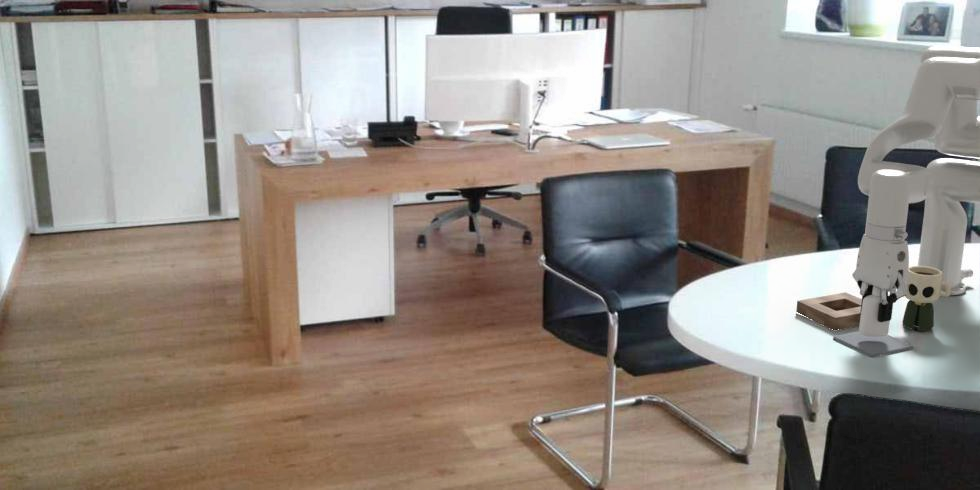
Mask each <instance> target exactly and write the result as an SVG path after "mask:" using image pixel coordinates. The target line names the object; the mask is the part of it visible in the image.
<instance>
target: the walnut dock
mask: <svg viewBox="0 0 980 490" xmlns="http://www.w3.org/2000/svg"><path fill="white" fill-rule="evenodd" d="M796 302H797V303H796V312H798V313H800V314H802V315H804V316H806V317H808V318H809V319H812V320H813V321H812V322H814V321H815V322H814V323H816V322H817V323H816V324H818V323H819V324H818V325H820V324H822V325H824V326H826V327H825V328H827V327H828V328H827V329H829V328H830V329H829V330H831V329H833V330H837V331H840V329H842V330H844V329H845V328H847V329H851V328H850V327H852V328H856V326H857V327H859V325H860V317H861V313H860V312H861V303H862V298H860V297H857V296H856V295H853V294H850V293H849V292H841V293H835V294H827V295H823V296H817V297H813V298H806V299H801V300H800V299H799V300H797V301H796ZM809 319H808V320H809ZM822 325H821V326H822ZM824 326H823V327H824ZM838 329H839V330H838ZM833 330H832V331H833Z"/></svg>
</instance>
